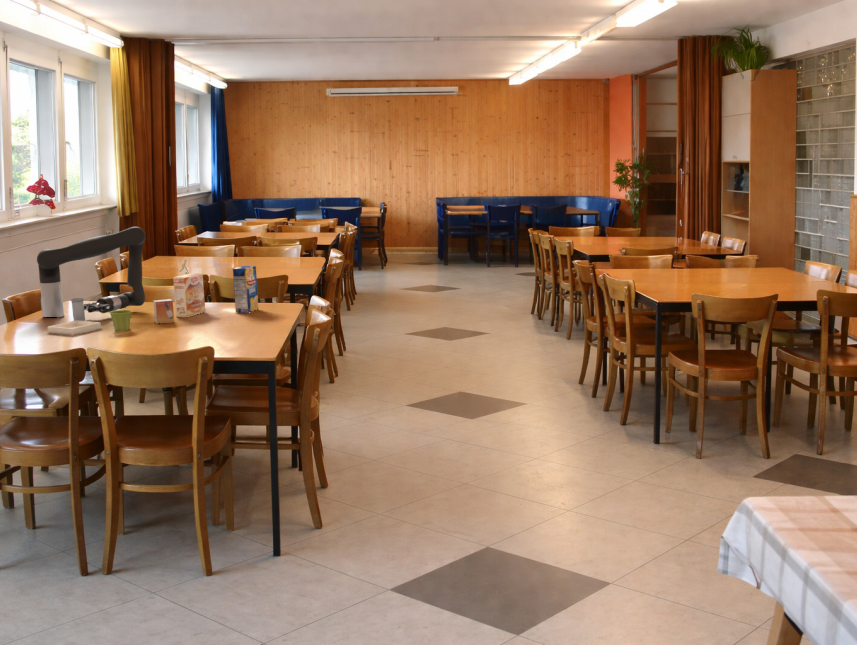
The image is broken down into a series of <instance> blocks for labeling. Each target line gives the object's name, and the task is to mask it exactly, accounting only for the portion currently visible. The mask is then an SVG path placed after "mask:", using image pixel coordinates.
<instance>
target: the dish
mask: <svg viewBox="0 0 857 645" xmlns="http://www.w3.org/2000/svg"><path fill="white" fill-rule="evenodd" d="M99 329H101V330H102V323H101V322H98V321H89V320H85V321H79V320H75V321H74V320H70V321H67V322H63V323H57V324H54V325H49V326H47V332H48V333H54V334H53V335H58V334H61V335H60V336H67V335H70V336H71V337H74V336H75V335H76V336H79V334H80V335H84V334H88V333H92V332H96V331H100V330H99ZM95 330H96V331H95ZM91 331H92V332H91ZM87 332H88V333H87ZM48 333H47V334H48ZM83 333H84V334H83ZM70 336H69V337H70Z"/></svg>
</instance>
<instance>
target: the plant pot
mask: <svg viewBox="0 0 857 645" xmlns="http://www.w3.org/2000/svg"><path fill="white" fill-rule="evenodd" d="M132 312H133V311H132V310H131V309H129V310H128V309H119V310H116V311H111V312H108V313H109V314H110V317H111V319H112V324H113V329H114V331H115V332H126V331H129V330H130V326H131V316H132Z"/></svg>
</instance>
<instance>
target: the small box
mask: <svg viewBox="0 0 857 645" xmlns="http://www.w3.org/2000/svg"><path fill="white" fill-rule="evenodd" d="M153 312H154V313H153V314H154V323H156V325H160V324H169V323H170V324H172V322H174V323H175V311H174V301H173V300H172V299H171V298H167V299H158V300H154V299H153ZM159 323H160V324H159Z"/></svg>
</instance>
